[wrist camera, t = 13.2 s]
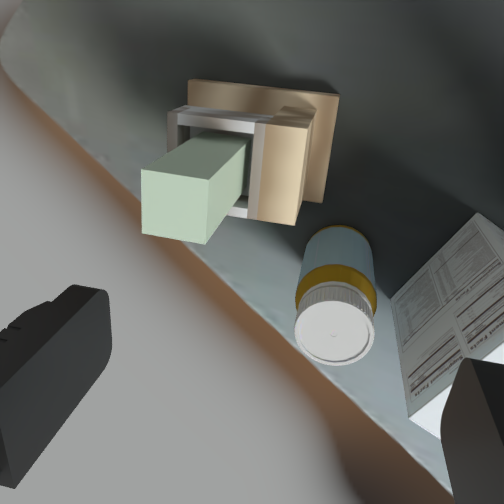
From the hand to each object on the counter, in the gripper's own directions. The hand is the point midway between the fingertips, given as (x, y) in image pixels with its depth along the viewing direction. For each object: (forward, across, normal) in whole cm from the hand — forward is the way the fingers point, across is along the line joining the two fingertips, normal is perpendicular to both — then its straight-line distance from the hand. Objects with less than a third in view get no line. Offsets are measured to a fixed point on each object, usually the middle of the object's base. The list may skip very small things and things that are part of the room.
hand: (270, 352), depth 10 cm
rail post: (+27, +8, +3) cm, 28 cm away
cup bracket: (+36, +6, +3) cm, 37 cm away
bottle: (+36, -3, +14) cm, 39 cm away
